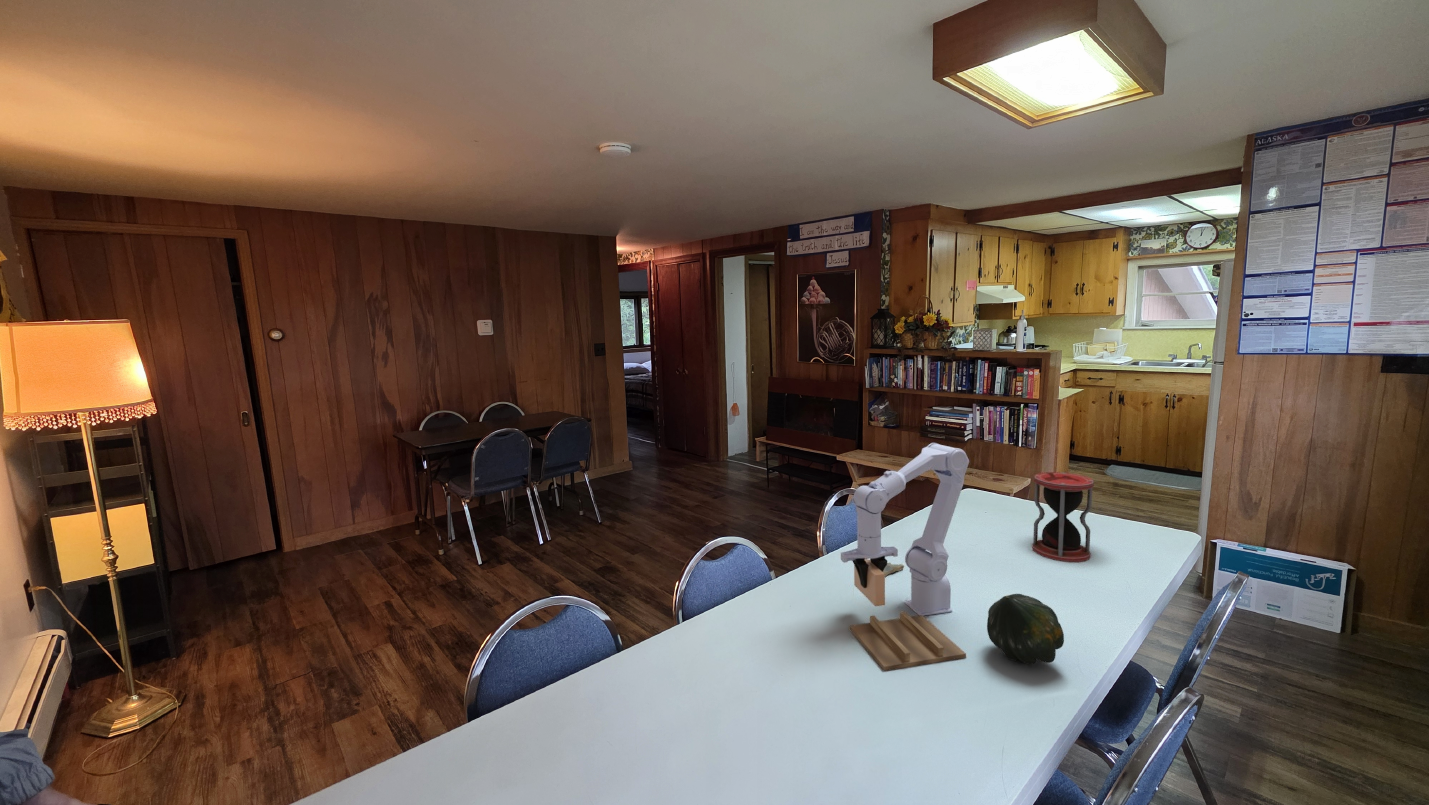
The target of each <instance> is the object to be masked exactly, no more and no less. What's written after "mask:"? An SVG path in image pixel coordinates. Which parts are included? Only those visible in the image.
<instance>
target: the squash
mask: <svg viewBox="0 0 1429 805" xmlns="http://www.w3.org/2000/svg"><path fill="white" fill-rule="evenodd" d="M986 622H987V623H986V631H987V635H988V638H989V640H990V641H991V642H992V643H993V645H994V646H995V647H996V648H998V649H999V650H1001V651H1002V653H1003V655H1004V657H1006V658H1007V659H1009V660H1012V661H1013V662H1015V663H1016V662H1017V663H1018V662H1022V663H1024V664H1026V665H1033V664H1034V663H1036V661H1037V660H1038V661H1040V662H1043V663H1045V664H1049V663H1053V662H1054V661H1055V659H1056V652H1057V651H1056V650H1058V649H1061V648H1062V647H1063V646H1064V644H1065V635H1064V630H1063V627H1062V625H1061V623H1060V622H1059V619H1058V616H1057V614H1056V612H1055V611H1054V609H1052V607H1050V606H1048V605H1047V604H1045V603H1044V602H1042V601H1041V600H1039V599H1037V598H1035V597H1031V596H1029V595H1025V594H1022V593H1013V594H1008V595H1004V596H1002V597H1001V598H1000V599H998V600H996V601H995V602H994V603H992V605H990V607H989V609H988V611H987V621H986Z"/></svg>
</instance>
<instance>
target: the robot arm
mask: <svg viewBox="0 0 1429 805" xmlns="http://www.w3.org/2000/svg"><path fill="white" fill-rule="evenodd" d="M969 463H970V460H969V458H968V455H967V453H966V452H965V450H963V449H961V448H958V447H952V446H947V445H942V444H939V443H937V442H931V443H930V444H928V445H927V446H924V447H923V448H921V452H920V453H919V455H917V456H915V457H914V458H913V459H912V460H910V461H909V462H908V463H907V464H905V465H904V466H903V467H901V468H900V469H899V470H898V471H896V470H886V471H884V472H883V475H882V476H880V477H879V478H877V479H875V480H874V481H870V482H869V484H868V485H861V486H859V487H857V488H856V489H855V491H854V493H853V496H851V501H852V503H853V505H854V506H855V509H856V510H855V513H856V518H857V521H856V523H857V524H856V526H857V527H856V528H857V529H856V530H857V531H856V532H857V533H856V534H857V540H856V542H857V548H853V549H851V550H847V551H842V552H840V560H841V562H843V564H845V563H848V562H850V561H851V562H852V563H853V566H854V565H855V567H856V570H857V572H858V575H859V578H860V583H861V586H862V587H863V588H867V571H868V567H869V565H868V564H867V563H866V561H865V559H868V560H871V563H873V564H874V565H875V566H876V567H877V568H878V569H880V570H881V571H882V572H883V570H884V568H885V567H886V565H887V563H888V560H887V559H886V557H893V558H894V557H895V558H896V557H898V556H899V554H898V553H899V552H898V551H899V550H898V548H897V547H895V546H882V511H884V509H885V507H886V505H887V503H889V501H890V500H891V499H892V498H894V497H896V496H897V495H898V494H900V493H902V491H903V492H904V491H905V489H906V484H907V483H909V482H910V481H912V480H913V479H915V478H917V477H919V476H920V475H922V474H924V473H926V472H927V471H929V470H932V471H933V472H934V474H935V475H936V476H937V478H938V480H939V481H940V482H939V485H938V488H937V492H936V493H935V497H934V499H933V503H932V506H931V508H930V511H929V514H928V518H927V521H926V524H925V526H924V529H923V533H922V536H920V537H919V538H917V539H914V540H913V542H912V544H911V546H910V547H909V548H908V550H907V551H906V553H905V556H904V561H905V562H904V563H905V565H906V566H907V568H909V573H910V577H911V578H910V579H911V580H910V585H911V586H910V589H911V590H910V591H911V593H910V599H909V600H908V599H907V600H904V604H906V605H907V606H908V607H909V608H910V609H911V610H912V611H913V612H915V613H916V615H917V616H920V615H922V616H924V617H925V616H931V615H938V614H944V613H945V614H946V613H951V612H953V609H952V608H951V595H952V593H951V590H952V588H951V582H950V580H949V578H948V576H946V574H947V571H948V559H949V553H948V552H947V550H946V548H945V545H944V543H945V540H946V537H947V534H948V531H949V528H950V525H951V523H952V522H951V521H952V519H953V516H954V514H955V511H956V508H957V504H958V501H959V498H960V494H961V492H962V488H963V486H964V482H965V475H966V472H967V469H968V466H969Z"/></svg>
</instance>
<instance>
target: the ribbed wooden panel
mask: <svg viewBox="0 0 1429 805" xmlns="http://www.w3.org/2000/svg"><path fill="white" fill-rule="evenodd" d="M848 626H849V627H848V630H849V629H850V630H851V631H850V630H849V631H850V632H851V634H852V635H854V637H855V638H856V639H857V640H858V642H859V643H860V644H861V645H862V646H863V648H864V649H865V650H866V651H867V652H868V654H869V655H870V656H871V657H872V659H873V660H874V661H875V662H876V663H877V664H878V666H880V668H882V670H883V672H885V671H891V670H893V671H894V670H899V669H905V668H910V667H918V666H922V665H924V666H925V665H928V664H929V665H930V664H937V663H941V662H948V661H953V660H961V659H965V658H967V652H965V651H964V650H963V649H961V648H960V647H959V645H957V644H956V643H955V642H953V641H952V640H951V639H950V637H948V636H947V635H946V634H944V633H943V632H942V631H941V630H940V629H939V628H938V627H936V626H935V625H934V624H933V623H932V622H930V621H929V620H928V619H927V617H925V616H922V615H920V616H919V615H915V616H913V615H912V616H910V615H909V614H908V613H907V612H906V611H900V612H899V618H892V619H886V620H879V619H878V618H877V617H876V616H875V615H870V616H869V622H864V623H859V624H858V623H857V624H851V625H848Z"/></svg>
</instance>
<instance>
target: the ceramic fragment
mask: <svg viewBox="0 0 1429 805" xmlns="http://www.w3.org/2000/svg"><path fill="white" fill-rule="evenodd" d="M868 560H869V561H870V562H871V560H870V559H868ZM904 568H905V565H904V564H902V563H901V564H892V563H891V562H887V565H886V567H885V568H884V570H883V573H884V574H885V578H886V577H887V576H888V575H890V574H893V573H894V572H900V571H903V569H904Z"/></svg>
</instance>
